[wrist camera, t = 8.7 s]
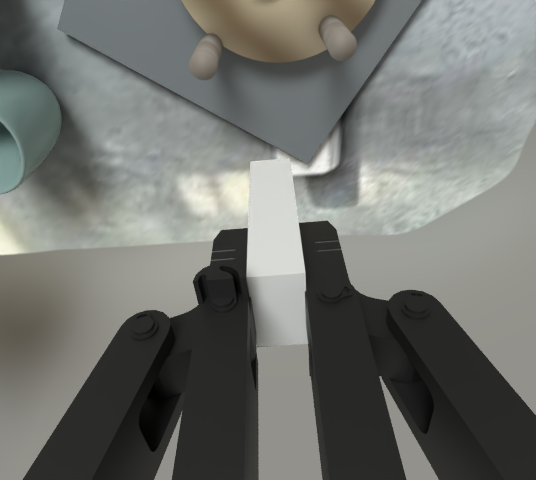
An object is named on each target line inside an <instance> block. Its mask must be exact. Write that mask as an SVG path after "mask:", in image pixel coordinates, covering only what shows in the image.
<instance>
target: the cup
mask: <svg viewBox="0 0 536 480" xmlns="http://www.w3.org/2000/svg"><path fill="white" fill-rule="evenodd" d="M61 123H62V116H61V109H60V106H59V103H58V101H57V99H56V97H55V95H54V93H53V92H52V91H51V89H50V88H49V87H48V86H47V85H46V84H44V83H43V82H42V81H40V80H39V79H37V78H36V77H34V76H31V75H29V74H27V73H24V72H20V71H15V70H7V69H0V194H4V193H8V192H10V191H12V190H14V189H16V188H18V187H19V186H20V185H21V184H22V183H23V182H24V181H25V180H26V179H27V178H28V177H29V176H30V175H31V174H32V173H33V172H34V171H35V170H36V168H37V167H38V166H39V165H40V164H41V163H42V162H43V161H44V159H45V158H46V157H47V156H48V154H49V153H50V152H51V150H52V148H53V147H54V145H55V143H56V141H57V139H58V137H59V134H60V130H61Z"/></svg>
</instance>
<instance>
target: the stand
mask: <svg viewBox="0 0 536 480" xmlns="http://www.w3.org/2000/svg"><path fill="white" fill-rule="evenodd" d="M421 1H422V0H375V2H374V4H373V5H372V7H371V8H370V10H369V11H368V12H367V14H366V15H365V17H364V18H363V19H362V20H361V21H360V23H359V24H358V25H357V26H356V27H355V28H354V29H353V30H352V31H351V33H352V34H353V35H354V37H355V39H356V42H357V47H356V51H355V53H354V55H353V56H352V57H351V58H350V59H348V60H346V61H337V60H335V59H333V58H332V56H331V55H330V53H329V51H328V49H327V50H325V51H323V52H321V53H319V54H317V55H314V56H311V57H308V58H306V59H302V60H297V61H293V62H281V63H274V62H263V61H258V60H253V59H250V58H247V57H244V56H241V55H239V54H237V53H235V52H233V51H231V50H229V49H227V48H225V47H224V46H223V50H222V53H221V56H220V60H219V63H218V66H217V70H216V73H215V75H214V76H213V77H212V78H211V79H209V80H199V79H197V78H195V77H194V76H193V75H192V73H191V71H190V69H189V62H190V59H191V57H192V55H193V53H194V51H195V49H196V47H197V45H198V43H199V41H200V40H201V38H202V37H203V36H204V35H205V34H207V33H206V32H205V31H204V30H203V29H202V28H201V27H200V26H199V25H198V23H197V22H196V21H195V20H194V19H193V17H192V16H191V15H190V13H189V12H188V10H187V9H186V7H185V6H184V4H183V2H182V0H65V2H64V5H63V9H62V13H61V17H60V21H59V24H58V28H57V29H59V30H60V31H62V32H64V33H66V34H68V35H70V36H71V37H73V38H75V39H77V40H79V41H81V42H83V43H84V44H86V45H88V46H90V47H92V48H94V49H96V50H97V51H99V52H101V53H103V54H105V55H107V56H108V57H110V58H112V59H114V60H116V61H118V62H120V63H121V64H123V65H125V66H127V67H129V68H131V69H132V70H134V71H136V72H138V73H140V74H142V75H144V76H145V77H147V78H149V79H151V80H153V81H155V82H157V83H158V84H160V85H162V86H164V87H166V88H168V89H169V90H171V91H173V92H175V93H177V94H179V95H181V96H182V97H184V98H186V99H188V100H190V101H192V102H193V103H195V104H197V105H199V106H201V107H203V108H205V109H206V110H208V111H210V112H212V113H214V114H216V115H218V116H219V117H221V118H223V119H225V120H227V121H229V122H230V123H232V124H234V125H236V126H238V127H240V128H242V129H243V130H245V131H247V132H249V133H251V134H253V135H254V136H256V137H258V138H260V139H262V140H264V141H266V142H267V143H269V144H271V145H273V146H275V147H277V148H279V149H280V150H282V151H284V152H286V153H288V154H290V155H291V156H293V157H295V158H297V159H299V160H301V161H303V162H304V163H306V164H308V163H309V161H310V160H311V159H312V157H313V156H314V154H315V153H316V151H317V150H318V148H319V147H320V146H321V144H322V143H323V141H324V140H325V138H326V137H327V136H328V134H329V133H330V131H331V130H332V128H333V127H334V125H335V124H336V123H337V121H338V120H339V118H340V117H341V115H342V114H343V113H344V111H345V110H346V108H347V107H348V105H349V104H350V103H351V101H352V100H353V98H354V97H355V95H356V94H357V92H358V91H359V90H360V88H361V87H362V85H363V84H364V82H365V81H366V80H367V78H368V77H369V75H370V74H371V72H372V71H373V70H374V68H375V67H376V65H377V64H378V62H379V61H380V59H381V58H382V57H383V55H384V54H385V52H386V51H387V49H388V48H389V47H390V45H391V44H392V42H393V41H394V39H395V38H396V37H397V35H398V34H399V32H400V31H401V29H402V28H403V26H404V25H405V24H406V22H407V21H408V19H409V18H410V16H411V15H412V14H413V12H414V11H415V9H416V8H417V6H418V5H419V4H420V2H421Z"/></svg>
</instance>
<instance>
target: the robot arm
mask: <svg viewBox="0 0 536 480" xmlns="http://www.w3.org/2000/svg"><path fill="white" fill-rule="evenodd" d="M193 284H194V288H195V292H196V295H197V300H198V304H199V305H198V306H197V307H196V308H194V309H192V310H191V311H189V312H187V313H184V314H181V315H178V316H175V317H173V318H169V317H167V315H166V314H164V313H163V312H160V311H157V310H148V311H143V312H140V313H137V314H135V315H133V316H132V317H130V318H129V319H127V320H126V321H125V322H124V324H123V325H122V326H121V327H120V329H119V330H118V332H117V333H116V335H115V337H114V338H113V340H112V341H111V343H110V344H109V346H108V348H107V349H106V351H105V352H104V354H103V355H102V357H101V358H100V360H99V361H98V363H97V365H96V366H95V368H94V369H93V371H92V372H91V374H90V376H89V377H88V379H87V380H86V382H85V383H84V385H83V386H82V388H81V390H80V391H79V393H78V394H77V396H76V397H75V399H74V401H73V402H72V404H71V405H70V407H69V408H68V410H67V412H66V413H65V415H64V416H63V418H62V419H61V421H60V422H59V424H58V425H57V427H56V429H55V430H54V432H53V433H52V435H51V436H50V438H49V439H48V441H47V443H46V444H45V446H44V447H43V449H42V450H41V452H40V453H39V455H38V457H37V458H36V460H35V461H34V463H33V464H32V466H31V468H30V469H29V471H28V472H27V474H26V475H25V477H24V478H23V480H154V478H155V476H156V473H157V471H158V468H159V466H160V463H161V461H162V459H163V456H164V454H165V451H166V449H167V446H168V444H169V441H170V439H171V437H172V434H173V432H174V429H175V427H176V424H177V422H178V419H179V417H180V415H181V412H182V417H181V424H180V430H179V437H178V443H177V450H176V456H175V463H174V470H173V476H172V480H258V360H257V353H256V343H257V347H268V346H283V345H297V344H308V347H309V370H310V376H311V380H312V390H313V399H314V408H315V416H316V425H317V433H318V443H319V452H320V461H321V469H322V478H323V480H406V477H405V473H404V469H403V465H402V461H401V458H400V454H399V450H398V447H397V443H396V439H395V435H394V431H393V427H392V424H391V420H390V417H389V412H388V409H387V405H386V401H385V397H384V393H383V390H382V386H381V382H380V378H379V376H382V379H383V381H384V383H385V385H386V387H387V389H388V390H389V392H390V394H391V395H392V397H393V399H394V401H395V403H396V404H397V406H398V408H399V410H400V411H401V413H402V415H403V417H404V419H405V420H406V422H407V424H408V426H409V427H410V429H411V431H412V433H413V434H414V436H415V438H416V440H417V441H418V443H419V445H420V447H421V449H422V450H423V452H424V454H425V455H426V457H427V459H428V461H429V462H430V464H431V466H432V468H433V470H434V471H435V473H436V475H437V477H438V479H439V480H536V415H535V414H534V413H533V412H532V410H531V409H530V408H529V407H528V406H527V405H526V403H525V402H524V401H523V400H522V399H521V397H520V396H519V395H518V394H517V393H516V392H515V390H514V389H513V388H512V387H511V386H510V385H509V383H508V382H507V381H506V380H505V379H504V377H503V376H502V375H501V374H500V373H499V371H497V369H496V368H495V367H494V366H493V364H492V363H491V362H490V361H489V360H488V358H486V356H485V355H484V354H483V353H482V351H480V349H479V348H478V347H477V345H476V344H475V343H474V342H473V341H472V340H471V339H470V337H469V336H468V335H467V334H466V332H465V331H464V330H463V329H462V328H461V327H460V325H459V324H458V323H457V322H456V321H455V320H454V318H453V317H452V316H451V315H450V314H449V312H448V311H447V310H446V309H445V308H444V307H443V305H442V304H441V303H440V302H439V301H438V300H437V299H436V298H434V297H433V296H432V295H429V294H427V293H425V292H423V291H416V290H405V291H400V292H398V293H396V294H394V295H393V296H392V297H391V299H390V300H389V301H386V300H380V299H375V298H370V297H367V296H365V295H363V294H361V293H359V292H358V291H356V290H355V288H354V287H353V286H352V285H351V283H350V281H349V278H348V274H347V270H346V266H345V262H344V258H343V254H342V250H341V247H340V243H339V239H338V235H337V231H336V229H335V228H334V227H333V226H332V225H331V224H330V223H329V222H328V221H318V222H305V223H299V222H298V214H297V207H296V200H295V192H294V185H293V178H292V170H291V163H290V158H287V159H275V160H263V161H252V162H250V186H249V215H248V228H243V229H231V230H221V231H220V233H219V234H218V235H217V236H216V238H215V239H214V242H213V249H212V256H211V263H210V266H208V267H205V268H203V269H202V270H201V271H200V272H198V273H197V274H196V276H195V278H194V280H193ZM182 410H183V411H182Z"/></svg>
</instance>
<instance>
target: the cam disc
mask: <svg viewBox="0 0 536 480" xmlns="http://www.w3.org/2000/svg"><path fill="white" fill-rule="evenodd" d="M182 2H183V4H184V6H185V7H186V9H187V10H188V12H189V13H190V15H191V16H192V17H193V19H194V20H195V21H196V22H197V23H198V25H199V26H200V27H201V28H202V29H203V30H204V31H205V32H206V33H207V34H205V35H204V36H203V37H202V38H201V40H200V41H199V43H198V45H197V47H196V49H195V51H194V53H193V55H192V57H191V59H190V62H189V69H190V71H191V73H192V75H193V76H194V77H195V78H197V79H199V80H209V79H211V78H212V77H213V76H214V75H215V73H216V70H217V66H218V63H219V60H220V56H221V53H222V50H223V46H224V47H225V48H227V49H229V50H231V51H233V52H235V53H237V54H239V55H241V56H244V57H247V58H250V59H253V60H258V61H263V62H274V63H281V62H293V61H297V60H302V59H306V58H308V57H311V56H314V55H317V54H319V53H321V52H323V51H325V50H327V49H328V51H329V53H330V55H331V56H332V58H333V59H335V60H337V61H346V60H348V59H350V58H351V57H352V56H353V55H354V53H355V51H356V47H357V42H356V39H355V37H354V35H353V34H352V33H351V31H352V30H353V29H354V28H355V27H356V26H357V25H358V24H359V23H360V21H361V20H362V19H363V18H364V17H365V15H366V14H367V12H368V11H369V10H370V8H371V7H372V5H373V4H374V2H375V0H182Z"/></svg>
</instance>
